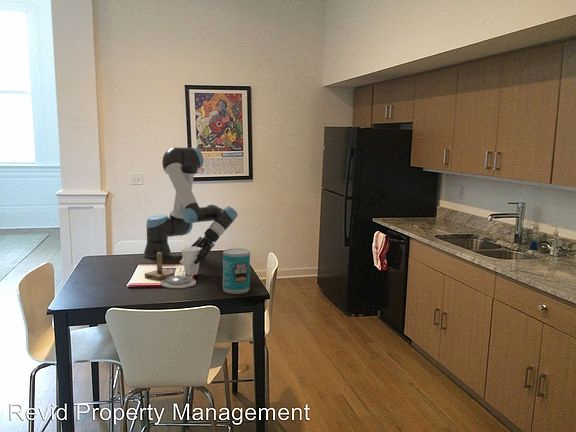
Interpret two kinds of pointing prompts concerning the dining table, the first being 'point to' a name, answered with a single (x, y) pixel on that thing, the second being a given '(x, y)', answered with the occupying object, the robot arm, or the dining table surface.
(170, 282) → the grey plate
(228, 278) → the food can
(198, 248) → the foam cup
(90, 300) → the dining table surface
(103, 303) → the dining table surface
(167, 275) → the stand
